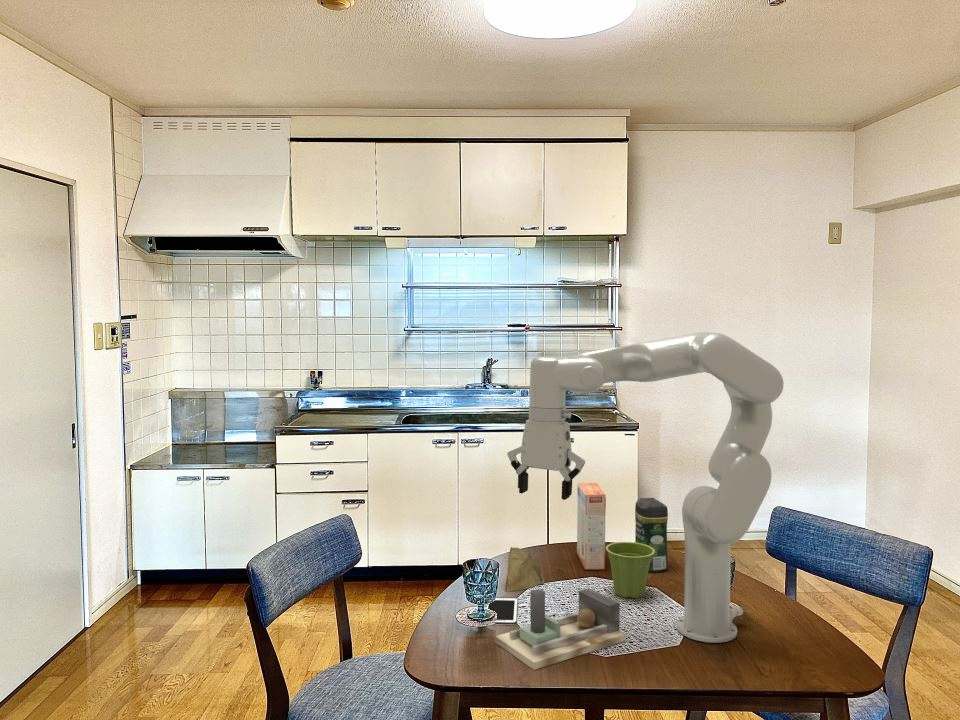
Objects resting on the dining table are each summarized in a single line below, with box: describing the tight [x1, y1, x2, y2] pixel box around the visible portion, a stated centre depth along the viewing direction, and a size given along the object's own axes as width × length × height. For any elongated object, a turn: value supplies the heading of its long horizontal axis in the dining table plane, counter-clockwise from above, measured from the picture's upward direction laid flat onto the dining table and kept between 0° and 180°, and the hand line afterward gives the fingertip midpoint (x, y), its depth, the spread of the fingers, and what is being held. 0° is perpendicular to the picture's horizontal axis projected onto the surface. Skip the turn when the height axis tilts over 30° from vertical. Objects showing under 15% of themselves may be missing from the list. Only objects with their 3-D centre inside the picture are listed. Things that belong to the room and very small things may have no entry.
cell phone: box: [487, 596, 519, 625], centre depth 173 cm, size 8×15×1 cm, turn 176°
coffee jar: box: [634, 497, 669, 573], centre depth 202 cm, size 10×8×19 cm
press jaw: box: [519, 589, 560, 646], centre depth 154 cm, size 6×6×10 cm
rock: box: [505, 546, 545, 593], centre depth 188 cm, size 11×9×10 cm
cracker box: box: [576, 482, 607, 571], centre depth 206 cm, size 14×6×21 cm, turn 1°
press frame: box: [494, 587, 627, 671], centre depth 157 cm, size 24×14×8 cm, turn 122°
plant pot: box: [605, 541, 655, 599], centre depth 183 cm, size 12×12×11 cm
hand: (544, 495), depth 157 cm, fingers open, 9 cm apart
